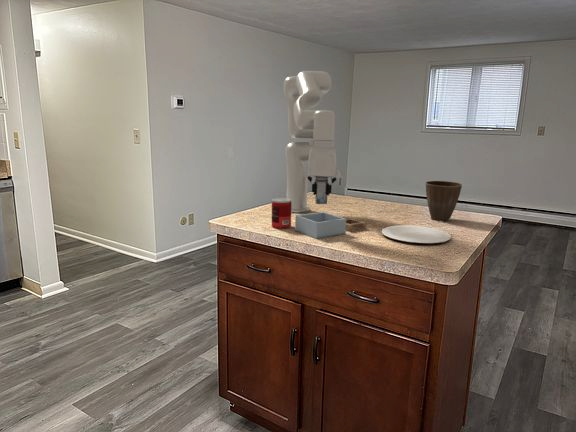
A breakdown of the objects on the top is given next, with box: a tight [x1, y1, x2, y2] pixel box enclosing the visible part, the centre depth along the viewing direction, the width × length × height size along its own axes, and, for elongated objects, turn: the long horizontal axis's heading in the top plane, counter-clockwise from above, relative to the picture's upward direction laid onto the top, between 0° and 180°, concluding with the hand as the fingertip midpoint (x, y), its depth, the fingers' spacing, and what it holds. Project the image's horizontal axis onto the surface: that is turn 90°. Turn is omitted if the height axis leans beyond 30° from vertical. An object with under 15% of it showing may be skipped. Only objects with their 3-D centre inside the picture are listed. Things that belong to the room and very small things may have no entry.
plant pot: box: [425, 180, 463, 222], centre depth 193 cm, size 15×15×16 cm
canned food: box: [271, 197, 292, 230], centre depth 176 cm, size 8×8×11 cm
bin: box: [294, 211, 347, 240], centre depth 169 cm, size 14×14×6 cm
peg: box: [314, 176, 328, 205], centre depth 165 cm, size 5×5×10 cm
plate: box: [381, 224, 452, 245], centre depth 166 cm, size 25×25×2 cm
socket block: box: [345, 217, 367, 232], centre depth 177 cm, size 9×9×2 cm
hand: (321, 194), depth 166 cm, fingers closed on peg, 4 cm apart
